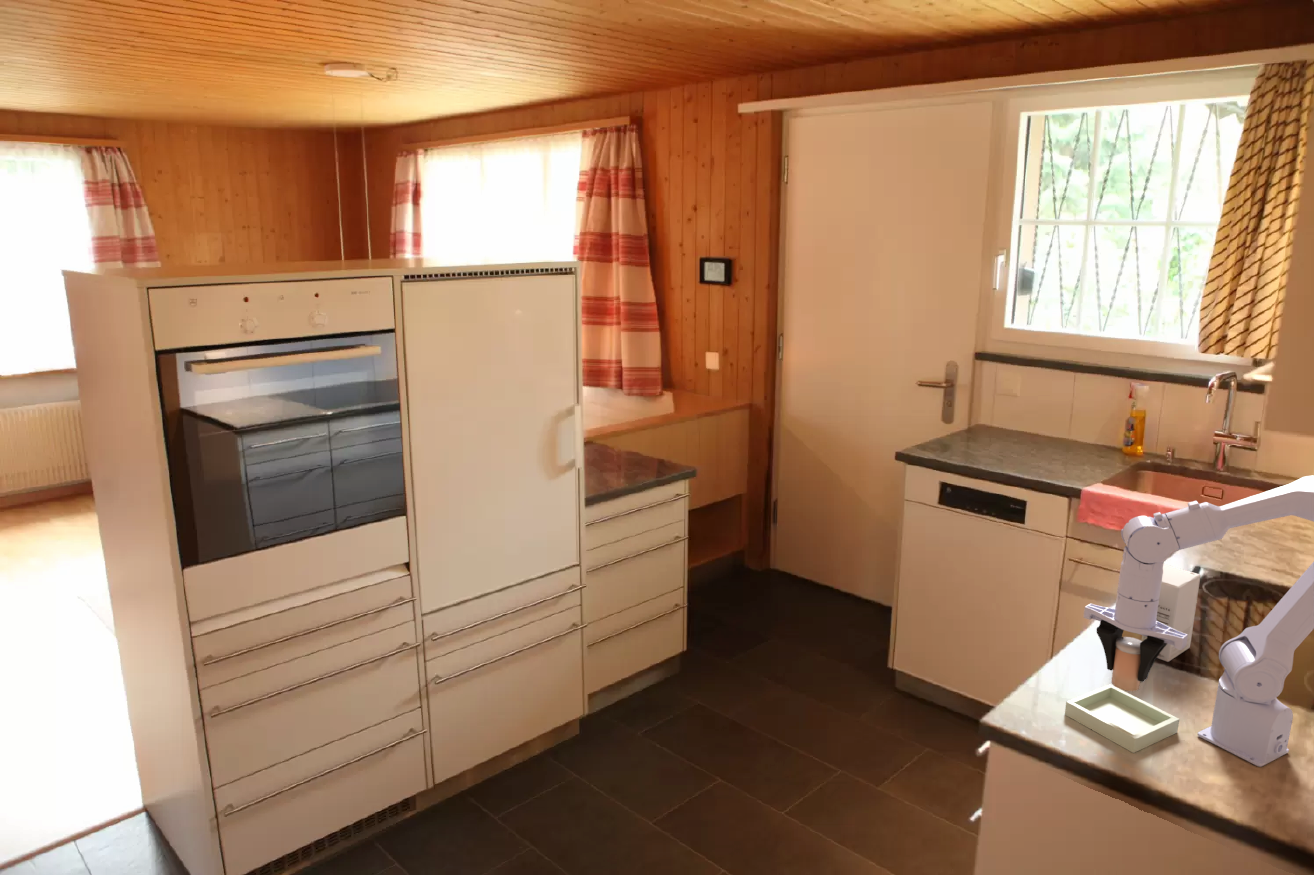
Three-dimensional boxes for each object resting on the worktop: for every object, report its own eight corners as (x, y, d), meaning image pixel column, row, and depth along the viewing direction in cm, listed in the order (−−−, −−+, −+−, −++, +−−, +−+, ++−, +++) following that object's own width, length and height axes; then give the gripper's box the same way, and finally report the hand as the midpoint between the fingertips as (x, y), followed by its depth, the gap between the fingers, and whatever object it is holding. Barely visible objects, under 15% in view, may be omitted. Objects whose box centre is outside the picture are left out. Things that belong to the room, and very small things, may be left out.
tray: (1177, 732, 140) (1179, 718, 139) (1133, 752, 135) (1135, 739, 134) (1107, 696, 150) (1109, 683, 150) (1064, 714, 145) (1066, 701, 144)
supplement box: (1142, 630, 173) (1152, 558, 169) (1190, 648, 166) (1202, 574, 162) (1118, 644, 168) (1128, 570, 164) (1167, 663, 161) (1179, 586, 157)
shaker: (1144, 684, 141) (1150, 643, 139) (1133, 694, 138) (1139, 652, 136) (1117, 674, 144) (1122, 634, 142) (1106, 683, 141) (1111, 642, 139)
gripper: (1199, 601, 134) (1186, 682, 137) (1101, 572, 145) (1091, 648, 148) (1182, 615, 130) (1169, 698, 133) (1081, 585, 140) (1072, 662, 144)
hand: (1127, 673), depth 140 cm, fingers closed on shaker, 4 cm apart
